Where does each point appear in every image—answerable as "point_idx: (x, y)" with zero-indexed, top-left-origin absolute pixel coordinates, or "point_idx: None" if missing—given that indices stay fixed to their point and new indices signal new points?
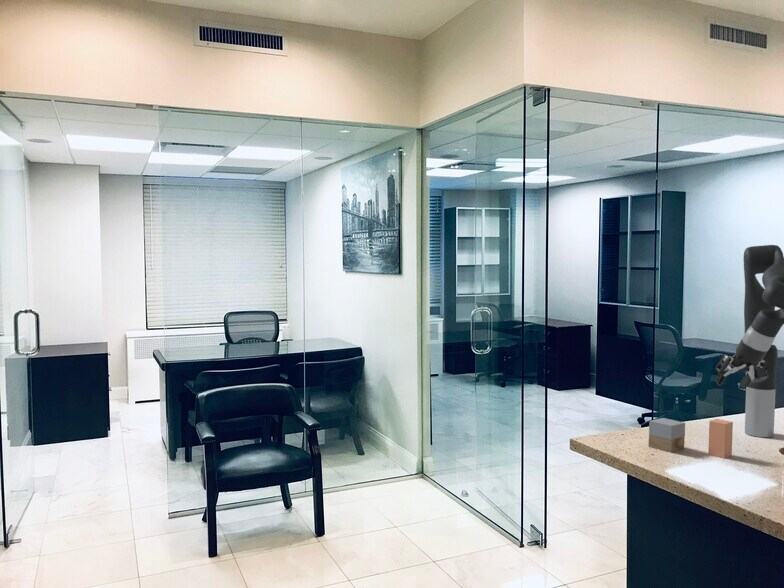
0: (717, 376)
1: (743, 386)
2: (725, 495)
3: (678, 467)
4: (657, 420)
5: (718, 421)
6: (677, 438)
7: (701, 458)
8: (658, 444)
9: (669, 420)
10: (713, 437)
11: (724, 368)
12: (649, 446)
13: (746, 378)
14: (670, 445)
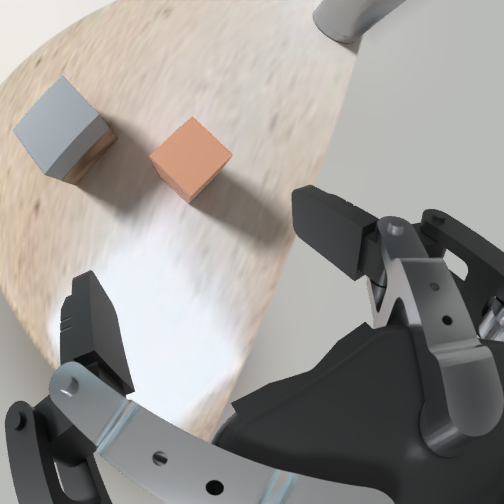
0: (61, 335)
1: (303, 231)
2: None
3: None
4: (33, 115)
5: (180, 157)
6: (82, 156)
7: (133, 212)
8: None
9: (65, 101)
10: (165, 177)
11: (96, 500)
12: None
13: (350, 253)
14: (67, 181)
